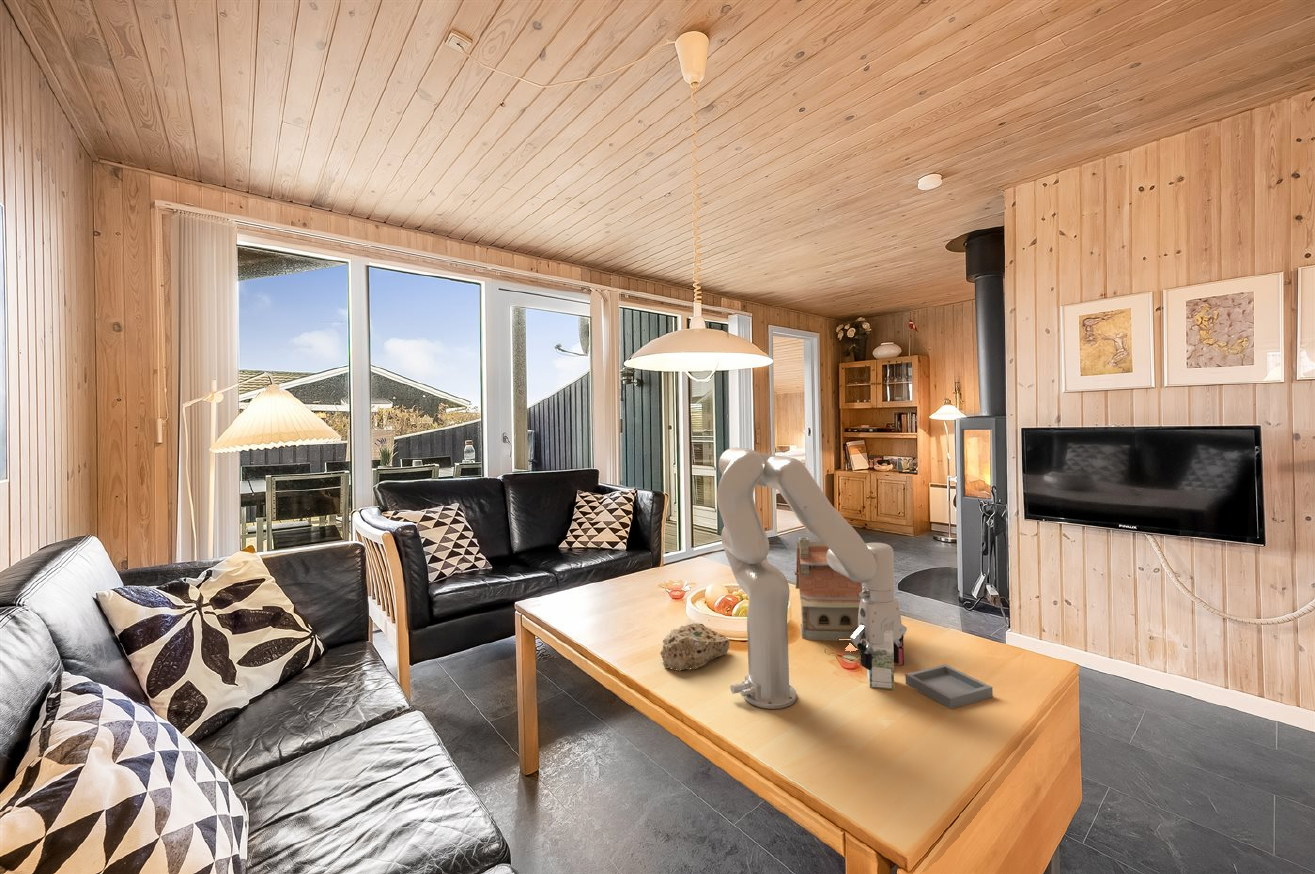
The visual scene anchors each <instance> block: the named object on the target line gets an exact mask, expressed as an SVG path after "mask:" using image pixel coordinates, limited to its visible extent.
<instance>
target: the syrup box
mask: <svg viewBox="0 0 1315 874" xmlns="http://www.w3.org/2000/svg"><path fill="white" fill-rule="evenodd" d="M883 633H884V643H882V644H878V645H872V647H871V650H870V652H869V653H870V654H871V655H872V670H868V669H866V677H867V681H868V685H869V688H872V689H875V688H876V689H883V690H884V689H885V690H895V665H894V647H893V631H892V629H890V630H887V631H885V632H883ZM867 643H868V642H866V645H867Z"/></svg>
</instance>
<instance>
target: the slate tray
mask: <svg viewBox="0 0 1315 874" xmlns="http://www.w3.org/2000/svg"><path fill="white" fill-rule="evenodd" d="M904 675H905V677H904V679H905V684H906V685H907V686H908V687H910V688H912V689H914V690H916V691H918V692H919V693H921V694H923V695H924V696H927V697H928V698H930V699H932V700H933V701H935V702H937V703H939V704H941V705H942V706H944V707H945V708H948V709H949V710H953V709H956V708H960V707H964V706H966V705H970V704H974V703H978V702H981V701H984V700H987V699H992V698H993V697H994V696H993V686H991V685H989V684H987V683H985V682H983V681H980V680H978V679H976V678H975V677H973V676H970V675H968V674H966V673H964V672H961V671H960V670H958V669H956V668H954V667H951V666H950V665H947V664H941V665H938V666H932V667H930V668H926V669H921V670H917V671H913V672H908V673H905V674H904Z"/></svg>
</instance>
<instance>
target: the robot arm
mask: <svg viewBox="0 0 1315 874" xmlns="http://www.w3.org/2000/svg"><path fill="white" fill-rule="evenodd" d="M718 467H719V468H718V469H719V471H720V473H721V478H720V480H719V483H718V485H717V491H716V502H717V507H718V512H719V513H720V514H719V515H720V517H721V521H722V523H723V528H722V530H721V535H720V538H721V544H722V547H723V550H724V553H725V555H726V558H727V561H728V563H729V565H730V568H731V571H732V573H733V575H734V579H735V580H736V583H737V585H738V586H739V588H741V590H742V591H743V593H745V594H746V595H747V596H748V608H747V612H746V631H747V634H746V635H747V660H748V663H747V664H748V675H745V676H744V680H742V682H741V683H735V684H731V685H730V692H731V694H732V695H735V694H738V693H740V696H741V697H743V698H744V699H745V700H746V701H747V702H748V703H750V704H751V705H753V706H755V707H759V708H762V709H771V710H778V709H784V708H787V707H790V706H791V705H793V704H794V703H795V702H796V700H797V691H796V689H795V688H794V687H793V686H792V685H790V671H789V670H790V667H789V636H788V635H789V632H788V631H789V630H788V612H789V611H788V610H789V602H790V584H789V582H788V580H787V579H788V578H787V577H786V576H785V574H784V573H783V572H782V571H781V570H780V569H779V568H778V567H776V566H775V565H773V564H772V563H770V562H769V560H768V559H767V556H768V555H769V551H770V541H769V538H768V535H767V533H766V531H765V527H764V525H763V523H762V520H761V518H760V515H759V513H758V509H757V507H756V503H755V498H754V494H755V493H754V492H755V489H756V486H759V487H763V488H769V489H775V490H777V491H778V492H779V494H780V495H781V496H782V498H783V499H784V501H785V503H787V505H788V506H789V508H790V509H791V511H792V512H793V514H794V515H795V517H796V518H797V519H798V521H799V523H800V524H801V525H802V526H803V527H804V528H805V529H806V530H807V531H808V532H809V533H811V534H812V535H813V536H815V537H816V538H817V539H819V540H820V542H823V543H824V544H825V545H826V546H827V547H828V548H829V550H828V551H827V554H826V560H827V563H828V565H829V566H830V567H831V568H832V569H833V570H834V571H836V572H838V573H840V574H841V575H843V576H845V577H847V578H849V579H850V580H852V581H854V582H857V583H862V592H860V593H859V596H860V597H861V598H862V599H861V600H860V605H859V613H858V629H857V630H856V631H855V632H854V634H853V635H852V636H851V637H850V639H851V640H852V641H851V642H852V644H853V645H854V646H855V647H856V648H857V650H858V651H859V650H860V651H859V653H860V665H861V667H862V668H865V669H866V670H867V669H868V670H872V655H871V654H870V653H869V652H870V650H871V647H872V645H878V644H882V643H884V633H883V632H885V631H887V630H890V629H892V631H893V647H894V663H896V664H898V663H899V648H898V647H900V646H901V641H902V640H903V641H904V637H905V634H906V632H907V630H908V628H907V626H906V625H904V624H903V623H902V616H901V610H900V609H901V608H900V604H899V602H898V599H897V598H896V597H895V596H896V595H895V591H896V589H895V562H894V561H895V559H894V558H895V557H894V556H895V554H894V549H893V547H892V546H891V545H890V544H887V543H884V542H883V543H882V542H868V543H867V542H865V541H864V540H863V538H862V537H861V535H860V534H859V533H858V532H857V531H856V529H855V528H854V527H853V526H852V525H851V524H850V523H849V522H848V521H847V520H846V519H845V517H843V516H842V514H841V513H840V512H839V511H838V510H837V509H836V507H834V506H833V505H832V503H831V502H830V500H829V499H828V497H827V496H826V495H825V493H824V491H823V490H822V489H821V487H820V486H819V484H818V483H817V482H816V480H815V479H814V477H813V476H812V473H810V471H809V470H808V468H807V467H806V466H805V464H804V463H802V462H801V461H800V460H799V459H797V458H794V457H790V456H789V457H788V456H783V455H775V454H769V453H763V452H759V451H757V450H753V449H750V448H744V447H730V448H728V449H726V450H724V451H723V452H722V453H721V455H720V457H719V460H718ZM860 638H861V641H859V639H860ZM866 642H868V643H867V645H866V647H865V643H866Z"/></svg>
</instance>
